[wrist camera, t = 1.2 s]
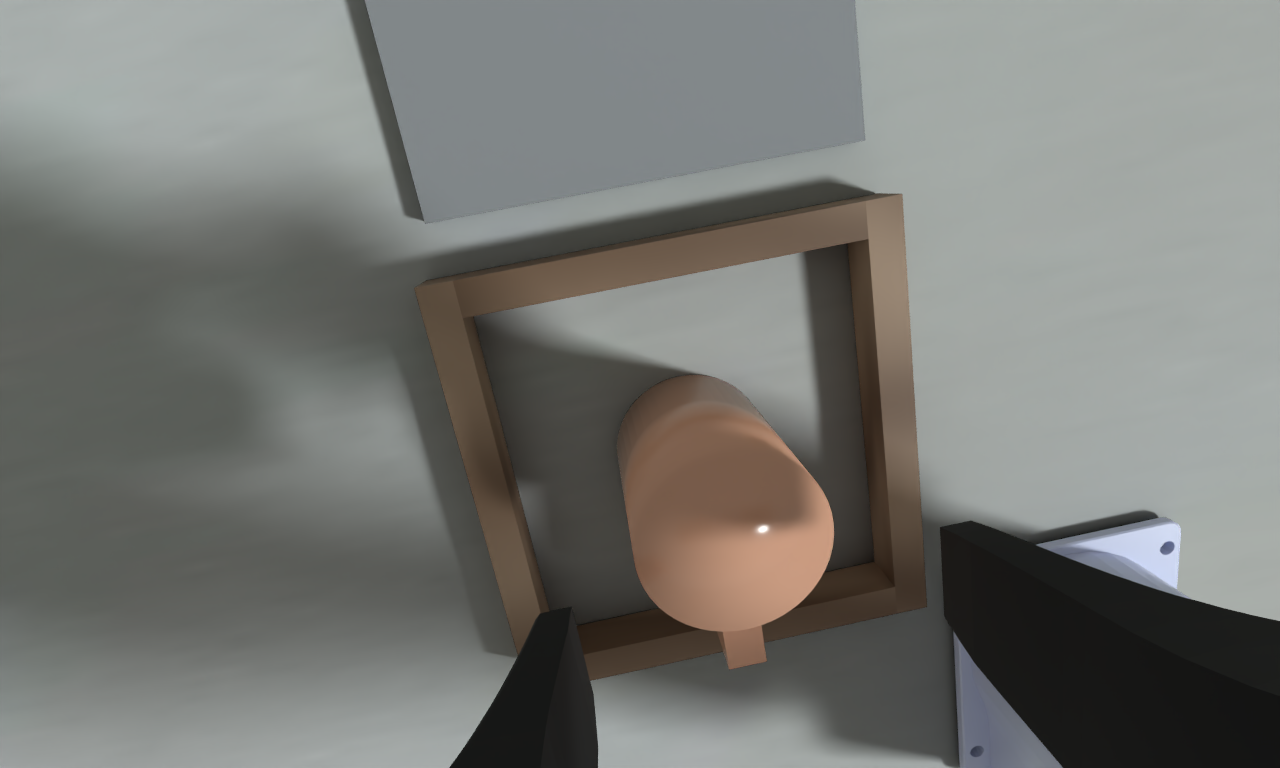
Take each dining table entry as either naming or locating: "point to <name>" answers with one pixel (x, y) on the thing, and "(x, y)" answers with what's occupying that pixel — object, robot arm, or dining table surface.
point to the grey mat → (608, 91)
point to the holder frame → (854, 221)
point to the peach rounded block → (719, 512)
